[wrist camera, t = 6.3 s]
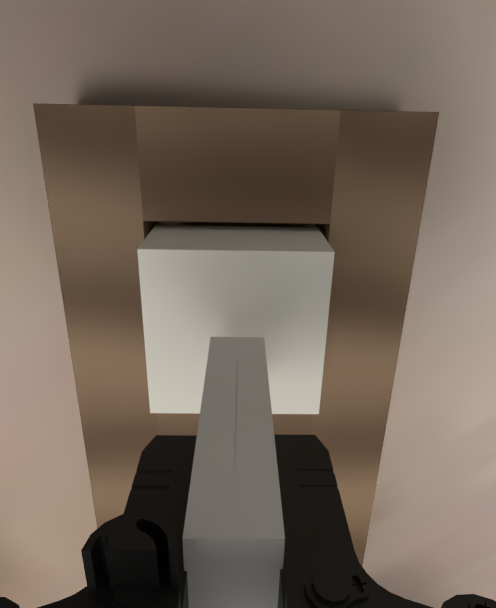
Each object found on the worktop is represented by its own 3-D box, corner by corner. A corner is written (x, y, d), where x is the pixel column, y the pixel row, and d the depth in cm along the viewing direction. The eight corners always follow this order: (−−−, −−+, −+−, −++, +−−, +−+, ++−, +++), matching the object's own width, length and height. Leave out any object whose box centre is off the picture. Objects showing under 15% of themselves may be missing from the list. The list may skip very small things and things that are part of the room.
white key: (155, 225, 17) (137, 249, 14) (318, 227, 17) (334, 251, 14) (164, 366, 19) (150, 413, 16) (306, 367, 19) (318, 414, 16)
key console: (75, 105, 18) (33, 103, 14) (399, 112, 18) (439, 112, 15) (129, 561, 28) (112, 629, 24) (337, 561, 28) (351, 628, 25)
